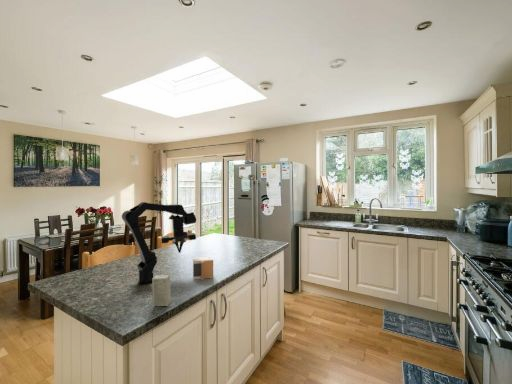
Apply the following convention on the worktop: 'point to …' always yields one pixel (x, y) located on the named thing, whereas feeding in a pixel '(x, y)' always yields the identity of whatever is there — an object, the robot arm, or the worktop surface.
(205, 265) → the orange l-shaped block
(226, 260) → the worktop surface
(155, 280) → the skincare box
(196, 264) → the block
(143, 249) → the robot arm
